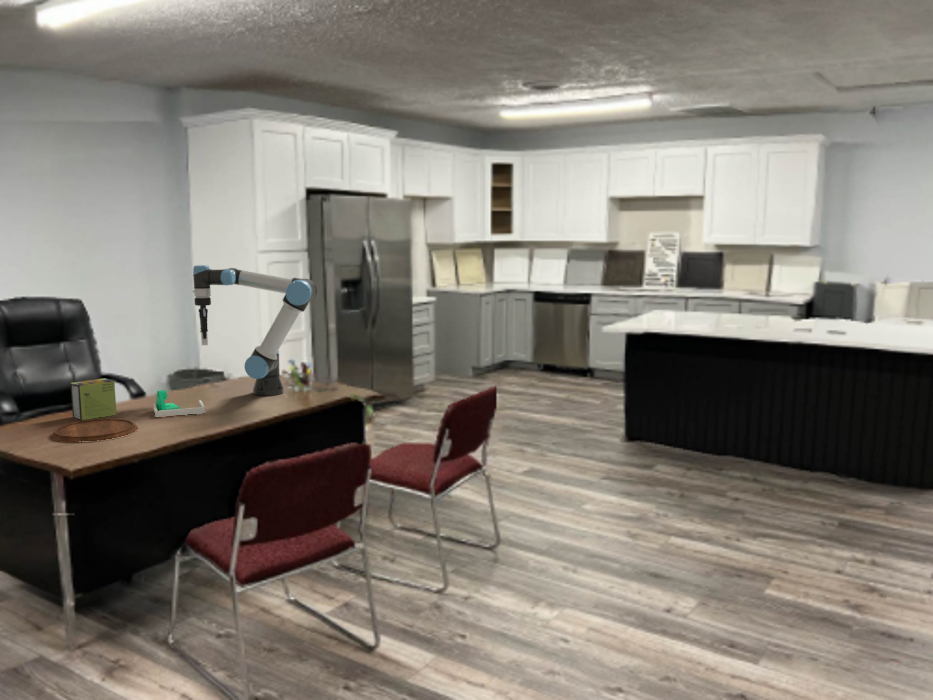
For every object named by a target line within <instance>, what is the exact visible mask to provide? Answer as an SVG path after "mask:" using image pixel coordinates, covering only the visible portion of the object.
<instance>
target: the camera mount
mask: <svg viewBox="0 0 933 700" xmlns="http://www.w3.org/2000/svg"><path fill="white" fill-rule="evenodd" d="M167 399H168V392H167V390H166V389H161V390H160V389H159V390H157V391H156V399H155V404H156V407H157V411H158V410H159V411H160V410H173V409H181V408H180V406H178V405H177V404H175V403H174V402H170V403H169V402H168V403H166V402H165V400H167Z"/></svg>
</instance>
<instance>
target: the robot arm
mask: <svg viewBox="0 0 933 700" xmlns="http://www.w3.org/2000/svg"><path fill="white" fill-rule="evenodd" d="M192 269H193V270H192V271H193V272H192V277H193V289H194V290H192V293H194V306H196V307H197V306H198V307H199V309H198V315H199V316H198V317H199V321H200V322H199V324H200V326H199V327H200V328H199V329H200V331H199V332H200V335H201V346H208V345H209V342H208V341H209V339H208V332H209V330H208V313H209V310H208V308H207V306H211V305H212V300H211V299H212V298H211V296H212V295H211V286H233V285H237V286H243V287H248V288H254V289H259V290H265V291H270V292H274V293H280V294H285V295H284V297H283V298H282V303H283V304H282V306H281V308H280V310H279V311H278V314H277V315H276V317H275V319H274V321H273V323H272V324H271V326H270V328H269V330H268V331H267V333H266V335H265V337H264V339H263V341H262V342H261V343H260V345H257V346H255V348H254V350H253V352H252V353H251V354H250V356H249V357H248V358H246V360H245V362H244V366H243V367H244V370H245V371H244V372H245V373H246V375H248V376H249V378H252V379H255V382H254V385H253V389H252V390H253V392H252V394H253V395H255V396H266V397H267V396H276V395H277V396H278V395H281V394H283V393H284V392H285V391H284V385H283V383H282V380H281V375H280V374H281V373H280V351H279V350H280V348H281V346H282V345H283V342H284V341H285V339H286V338H287V336H288V334H289V333H290V331H291V328H292V327H293V326H294V325H293V324H294V323H295V321H296V320H297V318H298V316H299V314H300V313H303V312H305V311H306V309H307V307H308V305H309V304H310V302H312V301H313V300H315V298H316V297H317V295H318V287H317V285H316V283H315V282H314V281H313V280H312V279H309V278H298V277H292V278H287V277H280V276H275V275H271V274H263V273H259V272H254V271H248V270H242V269H237V268H234V267H230V268H224V269H223V268H222V269H211V268H210V266H209V265H208V264H207V265H206V264H205V265H203V264H200V265H199V264H198V265H197V264H196V265H194V266H193V268H192Z"/></svg>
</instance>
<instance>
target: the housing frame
mask: <svg viewBox="0 0 933 700" xmlns="http://www.w3.org/2000/svg"><path fill="white" fill-rule="evenodd" d="M198 403H199V404H198V405H199V406H200V407H199V406H198V407H187V408H180V409H173V410H160V411H158V409H157V407H156V403H153V407H152V408H153V412H154V413H155V414H154V418H155V417H161V416H173V415H185V416H188V415H187V414H197V415H202V414H201V413H205V414H206V406H205V405H204V403H203V401H202V400H200V399H199V400H198Z"/></svg>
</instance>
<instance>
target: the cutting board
mask: <svg viewBox="0 0 933 700" xmlns="http://www.w3.org/2000/svg"><path fill="white" fill-rule="evenodd" d="M137 429H139V427H138V425H137V424H135V422H133V421H132V420H129V419H123V418H95V419H88V420H80V421H75V422H70V423H67V424H66V423H65V424H64V425H61V426H59V427H57V428H56V429H54V431H53V433H51V439H52V438H53V439H55V440H54V441H56V440H58V441H57V442H60V441H66V442H65V443H67V442H79V441H81V442H82V441H97V440H106V439H112V438H117V437H121V436H125V435H128V434H131V433H133V432H135V431H136V430H137ZM137 431H138V430H137ZM137 431H136V432H137ZM136 432H135V433H136ZM133 434H134V433H133ZM131 435H132V434H131ZM128 436H129V435H128ZM125 437H126V436H125ZM121 438H122V437H121ZM53 439H52V440H53ZM117 439H118V438H117ZM112 440H113V439H112Z"/></svg>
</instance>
